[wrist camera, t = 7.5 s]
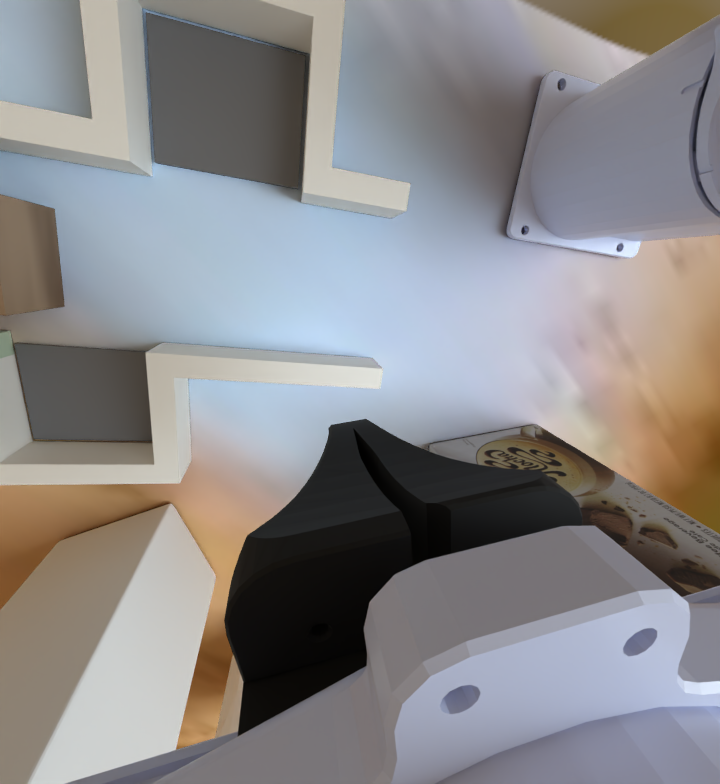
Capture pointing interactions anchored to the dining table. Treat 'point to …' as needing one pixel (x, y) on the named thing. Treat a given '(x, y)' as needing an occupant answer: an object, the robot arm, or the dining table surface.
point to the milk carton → (102, 650)
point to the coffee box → (605, 503)
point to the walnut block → (28, 258)
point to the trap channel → (133, 155)
